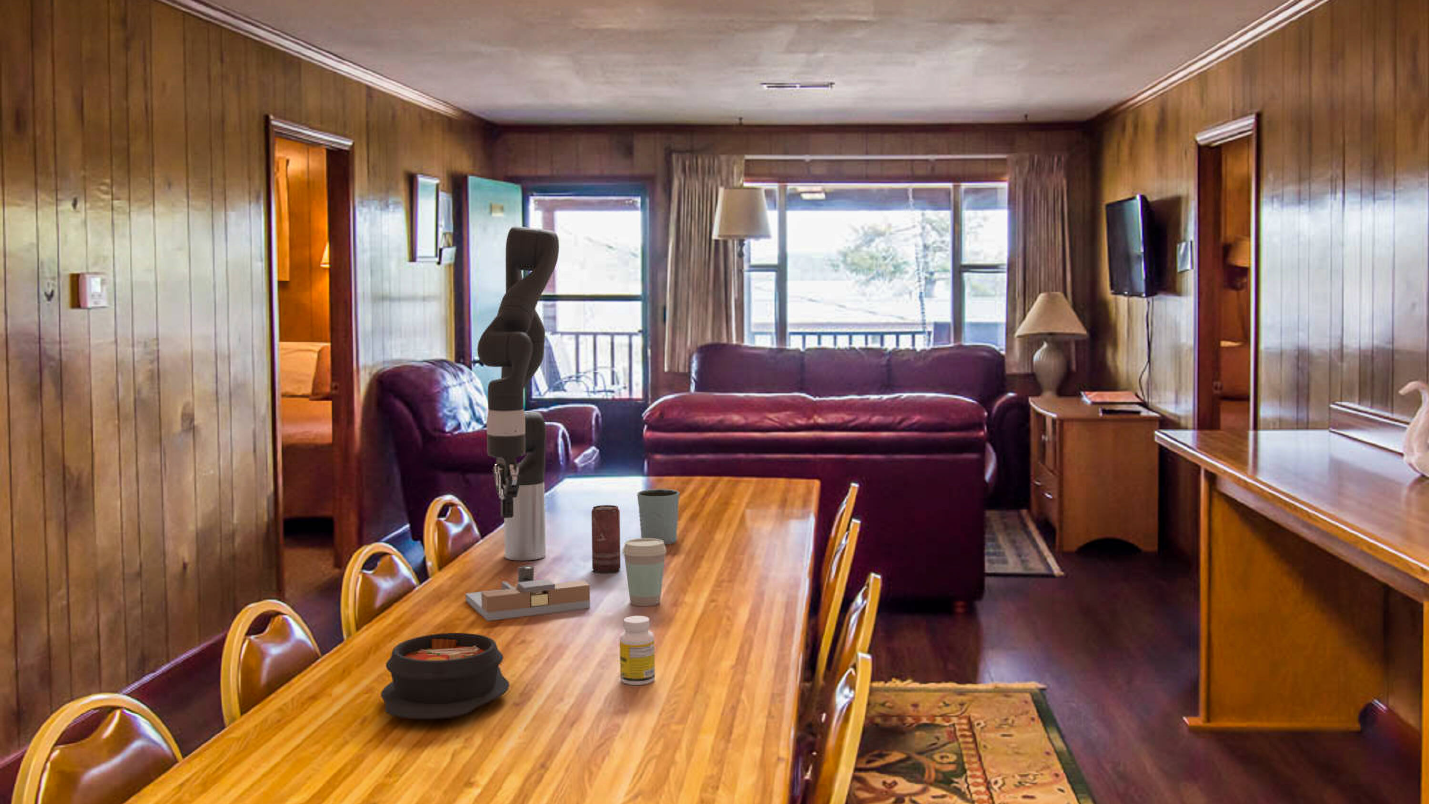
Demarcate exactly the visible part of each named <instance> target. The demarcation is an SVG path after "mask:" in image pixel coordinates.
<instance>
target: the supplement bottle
mask: <svg viewBox="0 0 1429 804" xmlns="http://www.w3.org/2000/svg"><path fill="white" fill-rule="evenodd" d="M650 626H651V625H650V618H649V617H648V616H645V615H632V616H627V617H625V618H624V619H623V629H624V630H625V631H623V632H622V633H621V634H620V635H619V665H620V667H619V669H620V670H619V673H620V674H619V675H620V681H621V682H622V683H623V684H625V685H628V686H629V685H630V686H643V685H648V684H651V683H652V682H654V681H655V678H656V677H655V676H656V663H655V662H656V661H655V659H656V658H655V657H656V655H655V635H654V633H653V632H652V631H651V630H649V629H650Z"/></svg>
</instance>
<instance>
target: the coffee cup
mask: <svg viewBox="0 0 1429 804" xmlns="http://www.w3.org/2000/svg"><path fill="white" fill-rule="evenodd" d="M666 553H667V547H666V544H664V542H663V541H662V540H659V539H652V538H641V537H640V538H634V539H633V538H632V539H629V540H627V541H625V543H624V547H622V554H623V555H624V563H625V572H626V578H627V579H626V580H627V588H628V595H629V603H630V604H631V605H632V606H636V607H652V606H653V607H654V606H657V605H659V604H660V603H661V598H662V597H661V595H662V587H663V577H664V566H665V559H666V558H665V556H666Z"/></svg>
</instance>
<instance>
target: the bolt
mask: <svg viewBox="0 0 1429 804" xmlns="http://www.w3.org/2000/svg"><path fill="white" fill-rule="evenodd" d="M534 568H535V567H534V566H533V565H521V566H518V567H517V576H518V577H517V581H518V582H527V581H535V570H534ZM518 582H517V583H518ZM517 583H516V584H515V588H517ZM540 605H548V594H547V593H545V592H544V591H536V592H530V606H540Z"/></svg>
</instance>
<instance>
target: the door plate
mask: <svg viewBox="0 0 1429 804" xmlns="http://www.w3.org/2000/svg"><path fill="white" fill-rule="evenodd" d="M516 584H517V588H516V587H513V585H511V584H510V582H507V581H502V582H501V589H495V590H487V591H486V590H484V591H476V592H468V593H467V592H465V602H467V603H468V604H469V605H470V606H471V607H472V608H473V609H474V610H475V611H477V613H478V614H479V615H480V616H482V617H483V618H484V619H485V620H486V621H489V622H490V621H495V620H496V621H497V620H505V619H512V618H514V619H515V618H521V617H528V616H529V617H531V616H537V615H544V614H545V615H546V614H552V613H560V612H561V613H562V612H568V611H569V612H570V611H576V610H577V611H578V610H584V609H585V610H586V609H590V608H591V596H590V595H591V590H590V589H591V588H590V587H591V586H590V584H589V583H588V582H586V581H584V580H576V581H567V582H555V583H554V582H553V581H551V580H550V579H547V578H544V579H537V580H534V581H527V582H516ZM536 591H544V592H545V593H547V594H548V605H540V606H530V592H536Z"/></svg>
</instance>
